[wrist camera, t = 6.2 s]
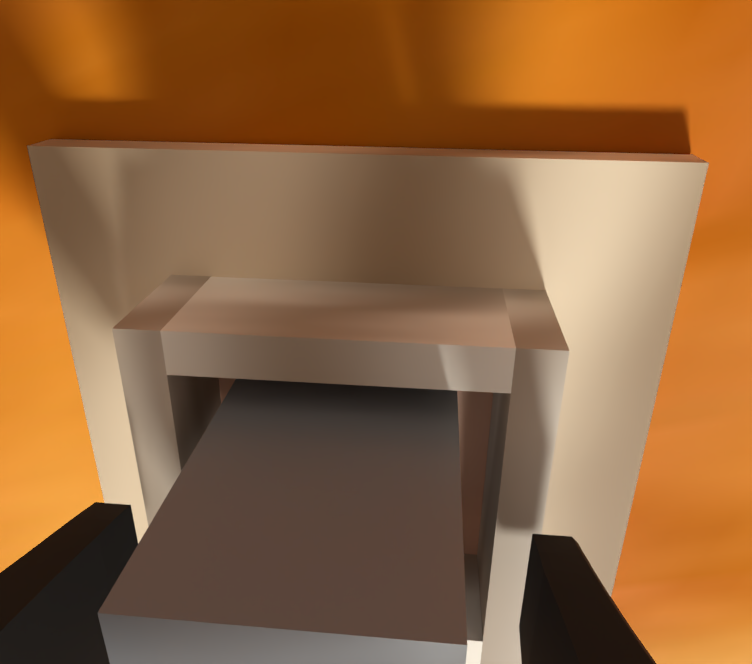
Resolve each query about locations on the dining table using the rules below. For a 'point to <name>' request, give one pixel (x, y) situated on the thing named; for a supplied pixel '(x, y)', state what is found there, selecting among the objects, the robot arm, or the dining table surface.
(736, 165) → the dining table surface
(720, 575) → the dining table surface
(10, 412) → the dining table surface
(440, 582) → the plug
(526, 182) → the holder box
